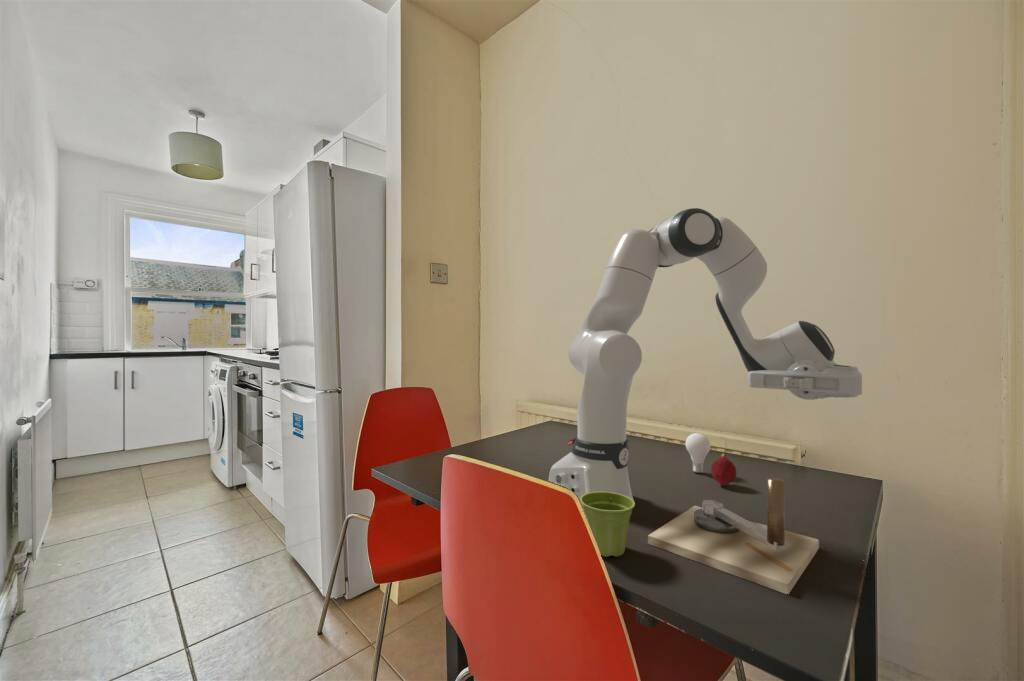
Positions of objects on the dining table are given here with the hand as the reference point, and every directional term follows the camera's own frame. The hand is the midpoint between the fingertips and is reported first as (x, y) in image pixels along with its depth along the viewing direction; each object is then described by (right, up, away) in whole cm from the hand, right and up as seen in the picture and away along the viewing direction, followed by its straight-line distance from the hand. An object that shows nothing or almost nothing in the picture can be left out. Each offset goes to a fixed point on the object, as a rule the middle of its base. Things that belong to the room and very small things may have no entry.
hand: (793, 383), depth 87 cm
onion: (-3, -28, +22) cm, 36 cm away
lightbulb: (-5, -28, +33) cm, 43 cm away
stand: (-17, -28, -10) cm, 34 cm away
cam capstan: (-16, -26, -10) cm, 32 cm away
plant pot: (-40, -28, -11) cm, 50 cm away
